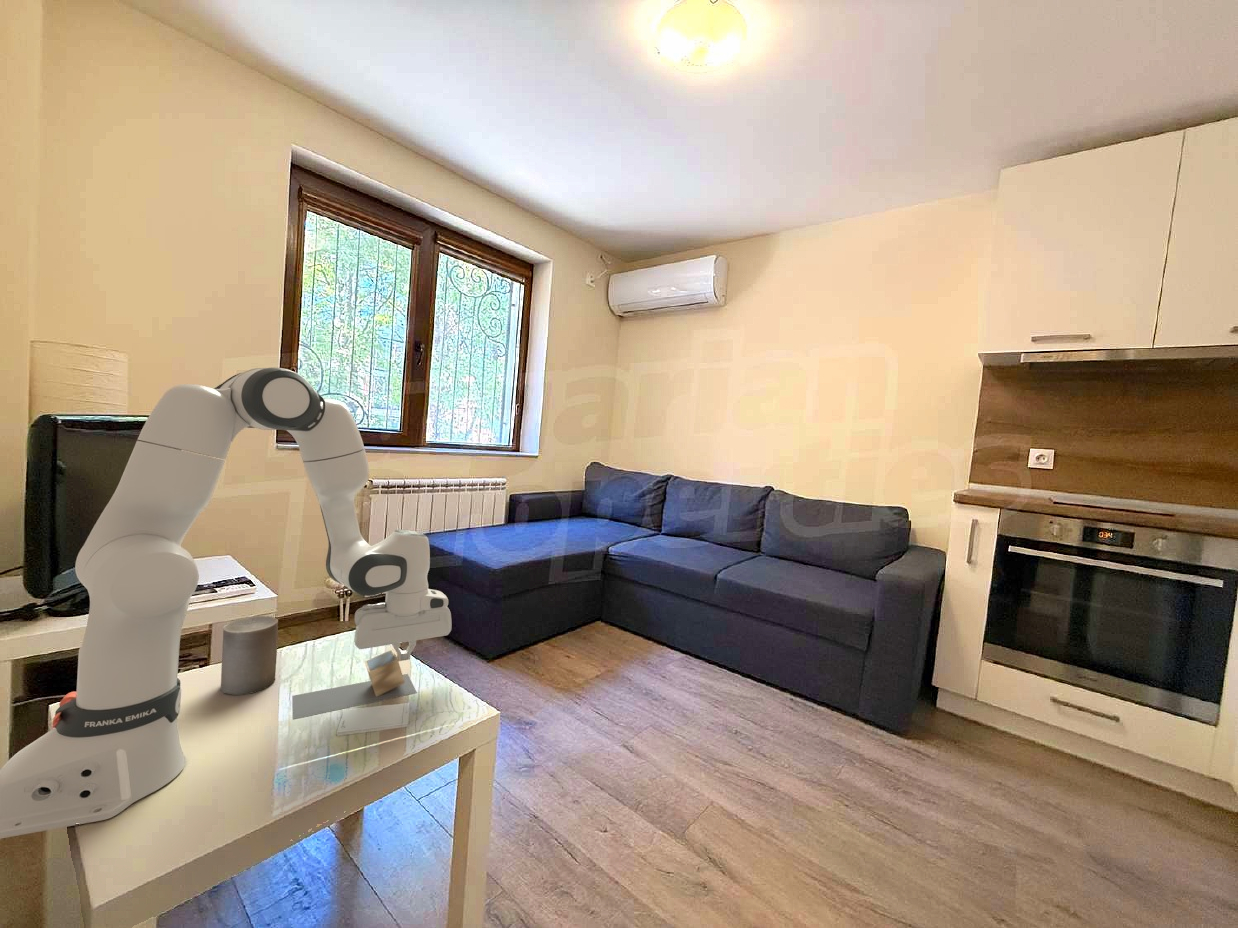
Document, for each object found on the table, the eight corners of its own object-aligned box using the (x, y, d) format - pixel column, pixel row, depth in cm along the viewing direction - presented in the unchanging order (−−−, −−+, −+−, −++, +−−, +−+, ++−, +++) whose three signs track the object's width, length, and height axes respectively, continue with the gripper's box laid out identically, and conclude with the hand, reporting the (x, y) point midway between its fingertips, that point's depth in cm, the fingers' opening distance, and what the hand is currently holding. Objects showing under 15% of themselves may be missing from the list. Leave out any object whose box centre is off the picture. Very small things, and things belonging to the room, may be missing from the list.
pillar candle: (276, 670, 111) (279, 607, 111) (274, 689, 103) (277, 621, 103) (223, 679, 106) (226, 613, 106) (216, 700, 98) (219, 628, 97)
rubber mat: (292, 720, 93) (292, 719, 93) (292, 696, 101) (292, 695, 101) (416, 693, 106) (417, 692, 106) (407, 674, 114) (407, 673, 114)
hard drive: (336, 731, 89) (408, 722, 94) (343, 708, 97) (410, 700, 101) (335, 740, 89) (407, 730, 94) (343, 716, 97) (409, 708, 101)
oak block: (376, 696, 103) (368, 672, 102) (371, 684, 108) (364, 661, 107) (404, 682, 106) (397, 659, 105) (399, 671, 111) (392, 648, 110)
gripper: (356, 610, 100) (353, 675, 100) (455, 598, 111) (451, 656, 112) (353, 601, 105) (350, 662, 105) (448, 591, 117) (444, 646, 117)
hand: (403, 659), depth 109 cm, fingers closed
